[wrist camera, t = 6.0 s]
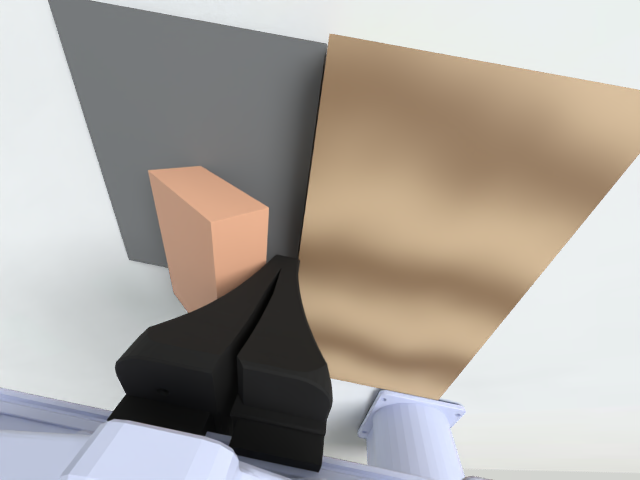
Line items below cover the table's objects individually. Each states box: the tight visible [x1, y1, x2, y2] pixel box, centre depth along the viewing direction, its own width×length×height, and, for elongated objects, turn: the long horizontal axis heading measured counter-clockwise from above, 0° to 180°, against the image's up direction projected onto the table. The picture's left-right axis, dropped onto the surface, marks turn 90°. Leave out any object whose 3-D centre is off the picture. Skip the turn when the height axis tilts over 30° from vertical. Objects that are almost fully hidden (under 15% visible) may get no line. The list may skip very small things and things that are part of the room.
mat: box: [48, 0, 327, 267], centre depth 14 cm, size 14×12×1 cm
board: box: [298, 34, 640, 400], centre depth 14 cm, size 20×12×2 cm, turn 171°
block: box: [148, 166, 269, 313], centre depth 13 cm, size 8×6×2 cm
